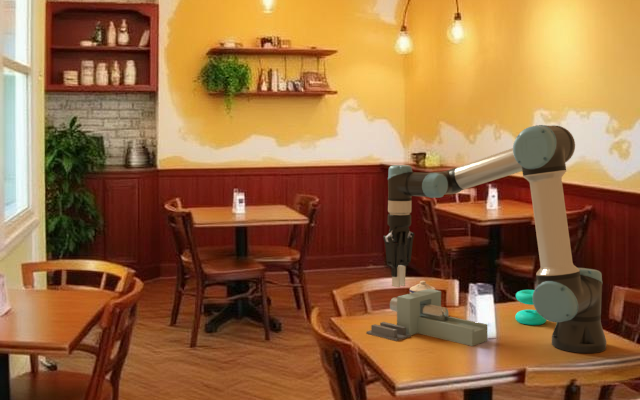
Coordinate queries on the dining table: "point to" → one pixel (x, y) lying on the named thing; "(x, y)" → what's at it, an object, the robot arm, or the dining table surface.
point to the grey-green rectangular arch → (414, 308)
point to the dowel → (426, 310)
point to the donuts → (528, 315)
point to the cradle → (389, 331)
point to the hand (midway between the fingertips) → (398, 285)
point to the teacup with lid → (421, 287)
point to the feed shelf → (454, 330)
